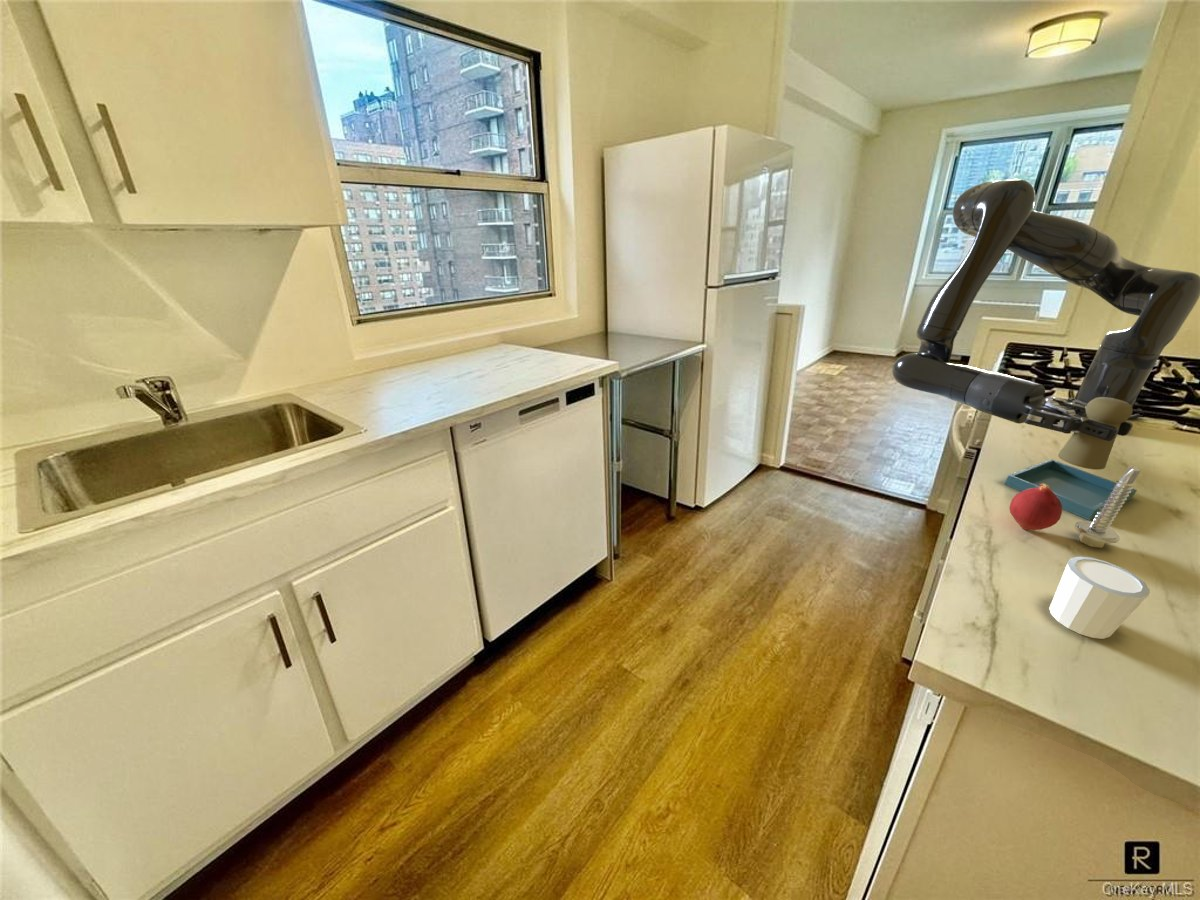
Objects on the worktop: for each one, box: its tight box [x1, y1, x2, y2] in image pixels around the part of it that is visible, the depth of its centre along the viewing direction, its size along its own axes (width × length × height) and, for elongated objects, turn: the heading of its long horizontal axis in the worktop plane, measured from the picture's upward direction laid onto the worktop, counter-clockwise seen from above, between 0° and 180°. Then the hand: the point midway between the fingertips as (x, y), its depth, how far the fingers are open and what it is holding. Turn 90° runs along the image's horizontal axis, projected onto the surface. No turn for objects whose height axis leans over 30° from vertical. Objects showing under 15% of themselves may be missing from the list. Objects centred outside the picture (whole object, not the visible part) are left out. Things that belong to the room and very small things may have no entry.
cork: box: [1057, 397, 1134, 471], centre depth 79 cm, size 6×6×11 cm
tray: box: [1004, 458, 1137, 521], centre depth 83 cm, size 14×12×2 cm
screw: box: [1073, 465, 1141, 548], centre depth 68 cm, size 13×5×5 cm
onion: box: [1009, 484, 1063, 531], centre depth 72 cm, size 6×6×8 cm
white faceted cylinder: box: [1048, 556, 1151, 640], centre depth 56 cm, size 7×7×7 cm
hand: (1121, 432), depth 76 cm, fingers closed on cork, 4 cm apart
